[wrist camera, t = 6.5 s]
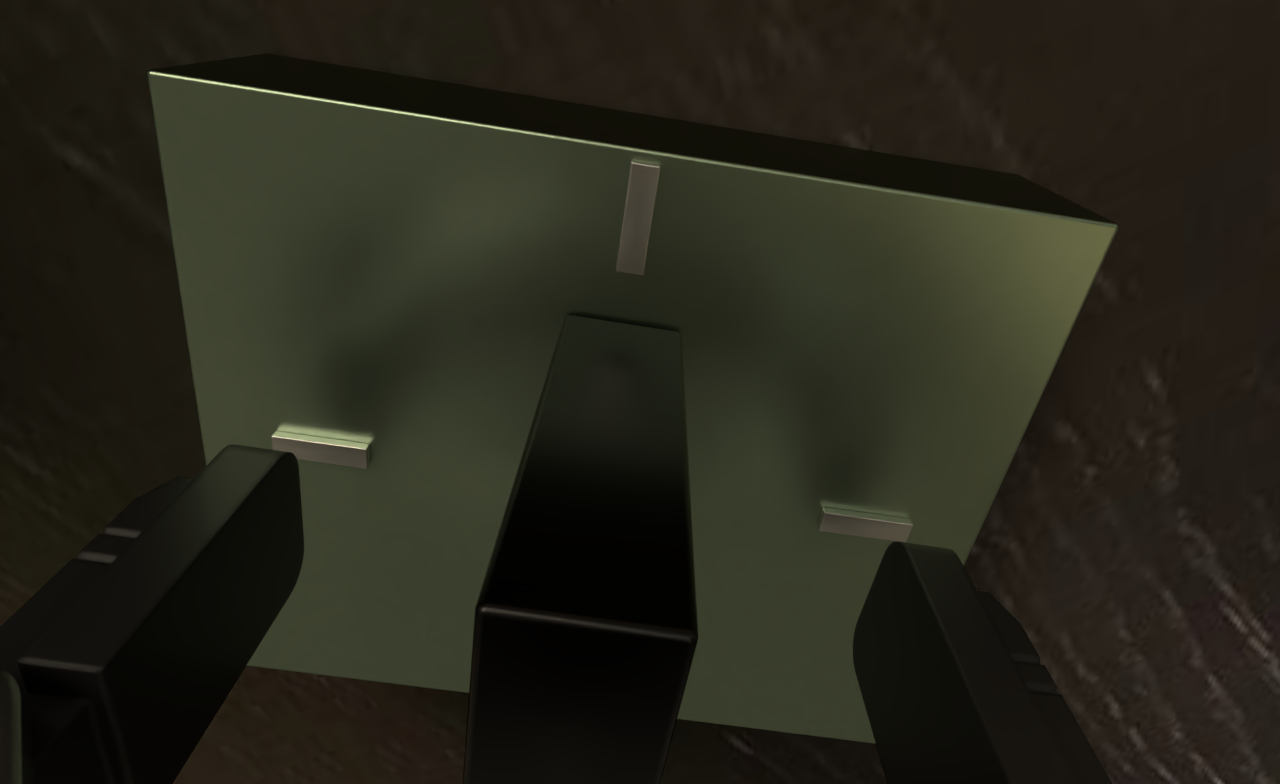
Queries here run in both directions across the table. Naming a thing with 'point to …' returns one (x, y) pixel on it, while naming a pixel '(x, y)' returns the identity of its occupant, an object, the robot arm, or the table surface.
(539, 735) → the red-tipped upright plate
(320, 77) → the lever switch base
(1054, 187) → the table surface
